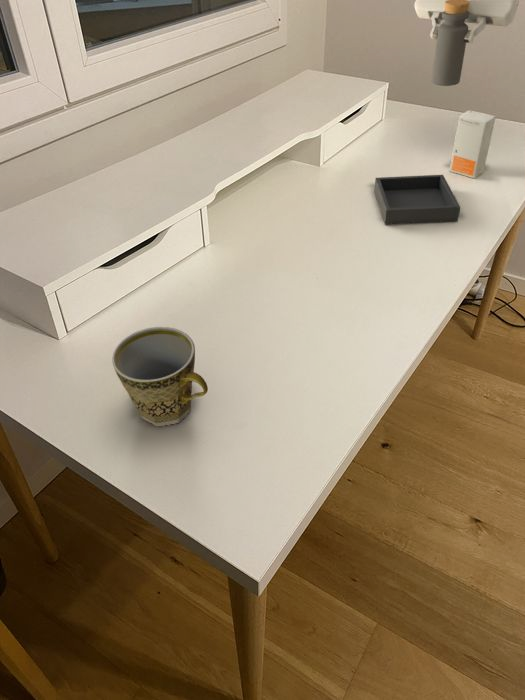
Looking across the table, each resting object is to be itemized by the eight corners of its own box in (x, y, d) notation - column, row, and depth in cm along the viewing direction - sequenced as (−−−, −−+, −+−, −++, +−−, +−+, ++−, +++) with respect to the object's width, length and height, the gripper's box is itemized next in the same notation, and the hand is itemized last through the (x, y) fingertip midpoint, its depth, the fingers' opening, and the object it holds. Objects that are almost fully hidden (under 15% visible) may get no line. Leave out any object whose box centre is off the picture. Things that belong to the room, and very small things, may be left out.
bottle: (430, 77, 127) (440, -2, 117) (458, 77, 127) (470, -3, 117) (432, 86, 123) (443, 5, 113) (461, 86, 122) (474, 4, 112)
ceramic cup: (112, 417, 77) (94, 361, 70) (163, 372, 83) (151, 317, 76) (188, 460, 71) (176, 403, 64) (236, 408, 77) (230, 352, 70)
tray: (440, 188, 120) (443, 174, 118) (457, 221, 110) (460, 206, 108) (374, 191, 120) (375, 177, 118) (384, 225, 110) (386, 210, 108)
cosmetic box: (448, 171, 125) (458, 115, 118) (458, 165, 128) (468, 109, 120) (474, 179, 122) (486, 122, 114) (484, 172, 125) (496, 115, 117)
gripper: (426, -40, 120) (400, 24, 121) (527, -35, 111) (498, 35, 111) (432, -19, 126) (407, 42, 127) (529, -12, 116) (501, 54, 117)
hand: (450, 39), depth 119 cm, fingers closed on bottle, 6 cm apart
